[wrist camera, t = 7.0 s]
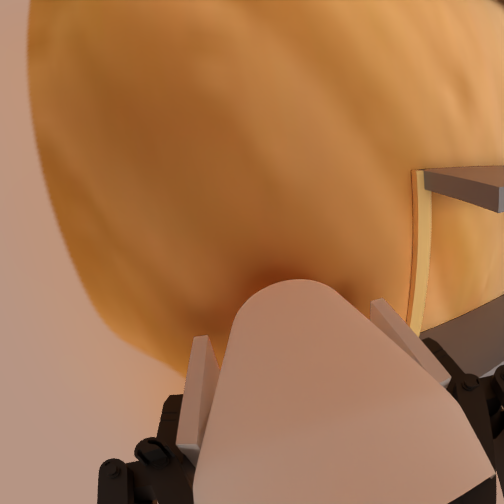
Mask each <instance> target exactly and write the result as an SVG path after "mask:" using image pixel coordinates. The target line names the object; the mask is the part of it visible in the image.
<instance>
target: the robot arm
mask: <svg viewBox="0 0 504 504" xmlns="http://www.w3.org/2000/svg"><path fill="white" fill-rule="evenodd" d="M370 321H371V322H372V323H373V324H374V325H375V326H377V327H378V328H379V329H380V330H381V331H382V332H383V333H385V334H386V335H387V336H388V337H389V338H390V339H391V340H392V341H394V342H395V343H396V344H397V345H398V346H399V347H400V348H401V349H402V350H404V351H405V352H406V353H407V354H408V355H409V356H410V357H411V358H412V359H414V360H415V361H416V362H417V363H418V364H419V365H420V366H421V367H422V368H423V369H424V370H426V371H427V372H428V373H429V374H430V375H431V376H432V377H433V378H434V379H435V380H436V381H437V382H438V383H439V384H441V385H442V386H443V387H444V388H445V389H446V390H447V391H448V392H449V393H450V394H451V395H452V397H453V398H454V399H455V400H456V401H457V402H458V404H459V405H460V407H461V408H462V410H463V412H464V414H465V415H466V417H467V419H468V421H469V423H470V425H471V427H472V429H473V430H474V432H475V434H476V436H477V438H478V440H479V441H480V443H481V445H482V447H483V449H484V451H485V453H486V455H487V457H488V459H489V461H490V463H491V465H492V467H493V469H494V471H495V473H496V471H497V474H498V478H499V481H500V485H501V489H502V492H503V497H504V365H500V366H499V367H497V369H496V371H495V373H494V375H490V376H486V377H482V378H479V377H478V376H476V375H474V374H468V373H467V374H465V373H464V372H463V371H462V369H461V368H460V367H459V366H458V365H457V364H456V362H455V361H454V360H453V359H452V358H451V357H450V356H449V355H448V354H447V352H446V351H445V350H443V348H442V347H441V346H440V344H439V343H438V342H437V341H435V340H433V339H431V338H429V337H428V338H425V339H423V340H420V339H419V337H418V336H417V335H416V334H415V333H414V332H413V331H412V329H411V328H410V327H409V326H408V325H407V324H406V323H405V322H404V320H403V319H402V318H401V317H400V316H399V315H398V314H397V313H396V312H395V311H394V309H393V308H392V307H391V306H390V305H389V304H388V303H387V302H386V301H385V300H384V299H383V298H380V299H377V300H373V301H371V302H370ZM219 375H220V369H219V366H218V363H217V360H216V357H215V354H214V351H213V348H212V345H211V342H210V339H209V336H208V335H204V336H196V337H194V339H193V344H192V349H191V354H190V360H189V365H188V371H187V376H186V382H185V388H184V394H180V395H170V396H169V397H168V398H167V400H166V401H165V403H164V405H163V409H162V415H161V421H160V423H159V428H158V433H157V438H155V437H150V438H146V439H144V440H142V441H140V442H139V443H138V444H137V445H136V448H135V451H134V455H135V457H136V458H137V459H138V460H139V461H136V462H131V463H126V464H125V463H124V462H123V461H121V460H119V459H114V458H113V459H108V460H106V461H105V462H103V464H102V465H101V467H100V470H99V478H98V500H97V504H157V501H158V503H159V504H194V498H193V482H194V475H195V471H196V467H197V463H198V458H199V454H200V450H201V446H202V442H203V438H204V434H205V430H206V426H207V422H208V418H209V415H210V411H211V407H212V403H213V399H214V395H215V391H216V387H217V383H218V379H219ZM502 407H503V408H502ZM448 504H496V475H495V476H494V477H493V478H492V479H491V478H490V477H489V478H488V479H486V480H484V481H483V482H481V483H480V484H478V485H477V486H475V487H474V488H472V489H471V490H469V491H468V492H466V493H464V494H463V495H461V496H460V497H458V498H456V499H455V500H453V501H451V502H449V503H448Z"/></svg>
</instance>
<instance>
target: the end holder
mask: <svg viewBox="0 0 504 504" xmlns="http://www.w3.org/2000/svg"><path fill="white" fill-rule="evenodd" d="M411 176H412V192H413V258H412V275H411V287H410V297H409V306H408V314H407V322H406V324H407V325H408V326H409V327H410V328H411V329H412V331H413V332H414V333H415V334H416V335H417V336H418V337H419V339H420V340H423V339H425V338H428V337H429V338H431V339H433V340H435V341H437V342H438V343H439V344H440V346H441V347H442V348H443V350H445V351H446V352H447V354H448V355H449V356H450V357H451V358H452V359H453V360H454V361H455V362H456V364H457V365H458V366H459V367H460V368H461V369H462V371H463V372H464V373H465V374H467V373H468V374H474V375H476V376H478V377H479V378H482V377H486V376H490V375H494V373H495V371H496V369H497V367H499V366H500V365H504V295H502V296H500V297H498V298H496V299H495V300H493V301H491V302H489V303H487V304H485V305H483V306H481V307H479V308H477V309H475V310H473V311H471V312H469V313H466V314H464V315H462V316H460V317H458V318H455V319H453V320H451V321H449V322H446V323H444V324H442V325H439V326H437V327H434V328H432V329H429V330H427V331H424V332H422V333H420V330H421V325H422V319H423V313H424V307H425V300H426V293H427V284H428V275H429V264H430V250H431V224H432V201H431V191H432V192H436V193H439V194H442V195H446V196H449V197H452V198H456V199H459V200H462V201H465V202H468V203H471V204H474V205H477V206H480V207H483V208H486V209H489V210H491V211H494V212H497V213H501V212H504V166H472V167H451V168H435V169H421V170H411Z"/></svg>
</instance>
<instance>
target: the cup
mask: <svg viewBox="0 0 504 504" xmlns="http://www.w3.org/2000/svg"><path fill="white" fill-rule="evenodd" d="M495 475H496V473H495V471H494V469H493V467H492V465H491V463H490V461H489V459H488V457H487V455H486V453H485V451H484V449H483V447H482V445H481V443H480V441H479V440H478V438H477V436H476V434H475V432H474V430H473V429H472V427H471V425H470V423H469V421H468V419H467V417H466V415H465V414H464V412H463V410H462V408H461V407H460V405H459V404H458V402H457V401H456V400H455V399H454V398H453V397H452V395H451V394H450V393H449V392H448V391H447V390H446V389H445V388H444V387H443V386H442V385H441V384H439V383H438V382H437V381H436V380H435V379H434V378H433V377H432V376H431V375H430V374H429V373H428V372H427V371H426V370H424V369H423V368H422V367H421V366H420V365H419V364H418V363H417V362H416V361H415V360H414V359H412V358H411V357H410V356H409V355H408V354H407V353H406V352H405V351H404V350H402V349H401V348H400V347H399V346H398V345H397V344H396V343H395V342H394V341H392V340H391V339H390V338H389V337H388V336H387V335H386V334H385V333H383V332H382V331H381V330H380V329H379V328H378V327H377V326H375V325H374V324H373V323H372V322H371V321H370V320H369V319H367V318H366V317H365V316H364V315H363V314H362V313H361V312H359V311H358V310H357V309H356V308H355V307H354V306H353V305H351V304H350V303H349V302H348V301H347V300H346V299H344V298H343V297H342V296H341V295H340V294H339V293H337V292H336V291H335V290H334V289H332V288H331V287H329V286H327V285H325V284H323V283H320V282H317V281H313V280H306V279H293V280H286V281H282V282H278V283H275V284H272V285H270V286H267V287H265V288H263V289H262V290H260V291H258V292H257V293H255V294H254V295H253V296H251V297H250V298H249V299H248V300H247V301H246V302H245V303H244V304H243V305H242V307H241V308H240V309H239V311H238V313H237V314H236V316H235V319H234V321H233V324H232V328H231V332H230V336H229V340H228V344H227V348H226V352H225V356H224V359H223V363H222V367H221V371H220V375H219V379H218V383H217V387H216V391H215V395H214V399H213V403H212V407H211V411H210V415H209V418H208V422H207V426H206V430H205V434H204V438H203V442H202V446H201V450H200V454H199V458H198V463H197V467H196V471H195V475H194V482H193V498H194V504H448V503H449V502H451V501H453V500H455V499H456V498H458V497H460V496H461V495H463V494H464V493H466V492H468V491H469V490H471V489H472V488H474V487H475V486H477V485H478V484H480V483H481V482H483V481H484V480H486V479H488V478H489V477H490V478H491V479H492V478H493V477H494V476H495Z"/></svg>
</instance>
